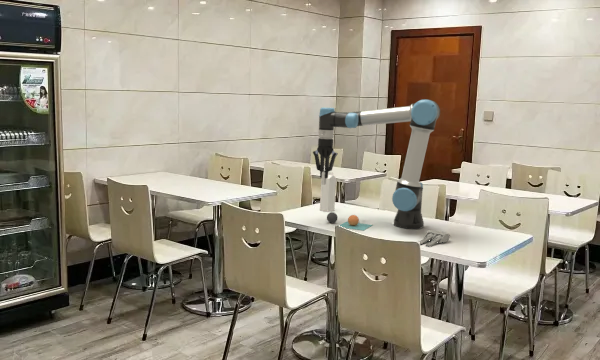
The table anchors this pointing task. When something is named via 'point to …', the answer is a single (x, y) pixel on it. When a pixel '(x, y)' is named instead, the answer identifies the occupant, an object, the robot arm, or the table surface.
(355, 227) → the mark
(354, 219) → the ball
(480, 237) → the table surface
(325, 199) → the milk
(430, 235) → the grey glove
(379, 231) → the table surface
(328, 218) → the ball
